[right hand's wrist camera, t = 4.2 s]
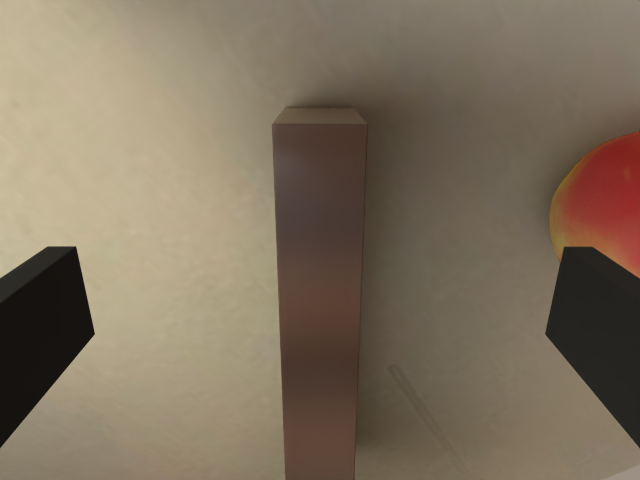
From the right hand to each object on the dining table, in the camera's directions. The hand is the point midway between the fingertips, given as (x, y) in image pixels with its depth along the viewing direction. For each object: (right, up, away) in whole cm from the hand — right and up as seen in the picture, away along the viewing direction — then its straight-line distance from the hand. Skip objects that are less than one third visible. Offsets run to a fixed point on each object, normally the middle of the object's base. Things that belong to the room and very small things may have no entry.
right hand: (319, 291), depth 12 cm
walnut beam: (0, -3, +18) cm, 18 cm away
